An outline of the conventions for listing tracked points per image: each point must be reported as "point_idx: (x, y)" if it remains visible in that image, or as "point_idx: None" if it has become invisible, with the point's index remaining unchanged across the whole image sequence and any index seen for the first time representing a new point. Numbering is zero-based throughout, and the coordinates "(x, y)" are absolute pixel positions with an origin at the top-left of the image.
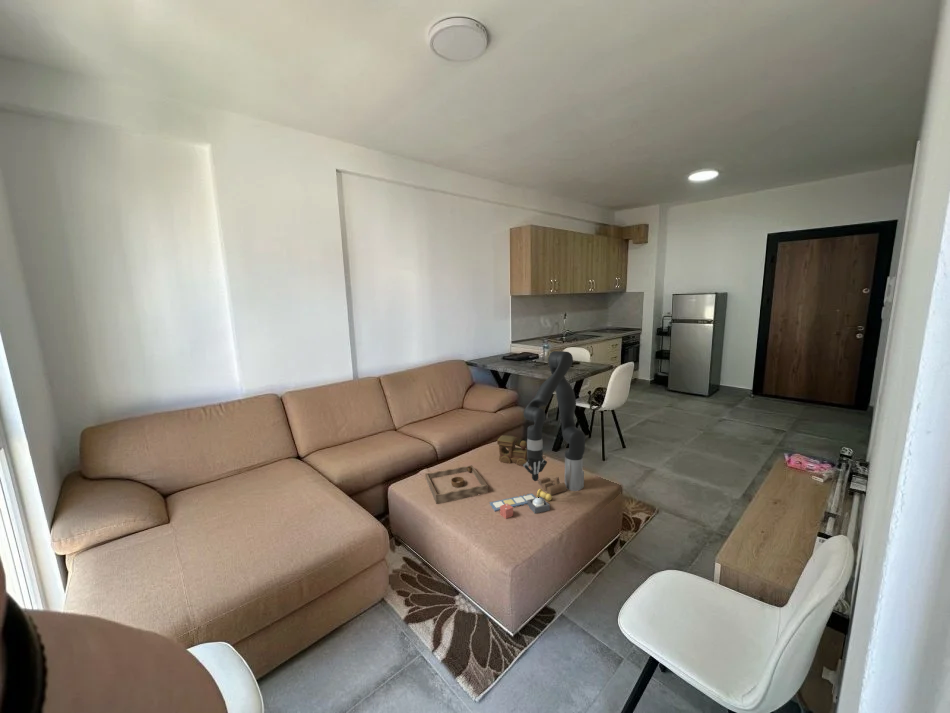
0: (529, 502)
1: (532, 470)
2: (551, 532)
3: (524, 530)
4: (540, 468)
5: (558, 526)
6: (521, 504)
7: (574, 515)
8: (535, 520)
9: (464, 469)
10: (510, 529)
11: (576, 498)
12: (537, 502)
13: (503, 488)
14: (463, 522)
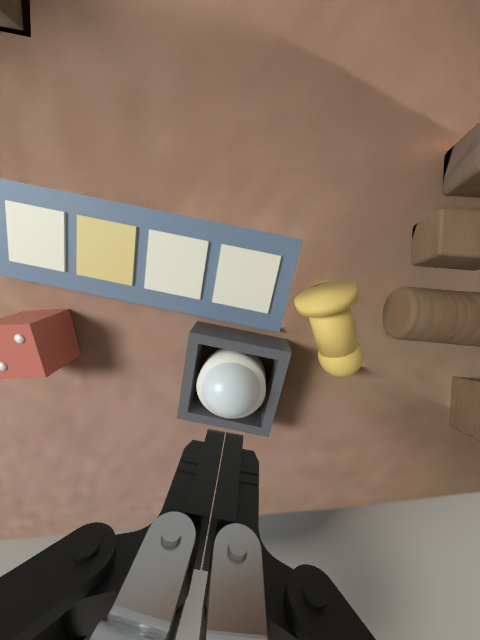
0: (185, 360)
1: (150, 582)
2: None
3: (77, 457)
4: (351, 624)
5: None
6: (164, 308)
7: (329, 496)
8: (156, 435)
9: None
10: (26, 424)
11: None
12: (210, 408)
13: (178, 19)
14: None
